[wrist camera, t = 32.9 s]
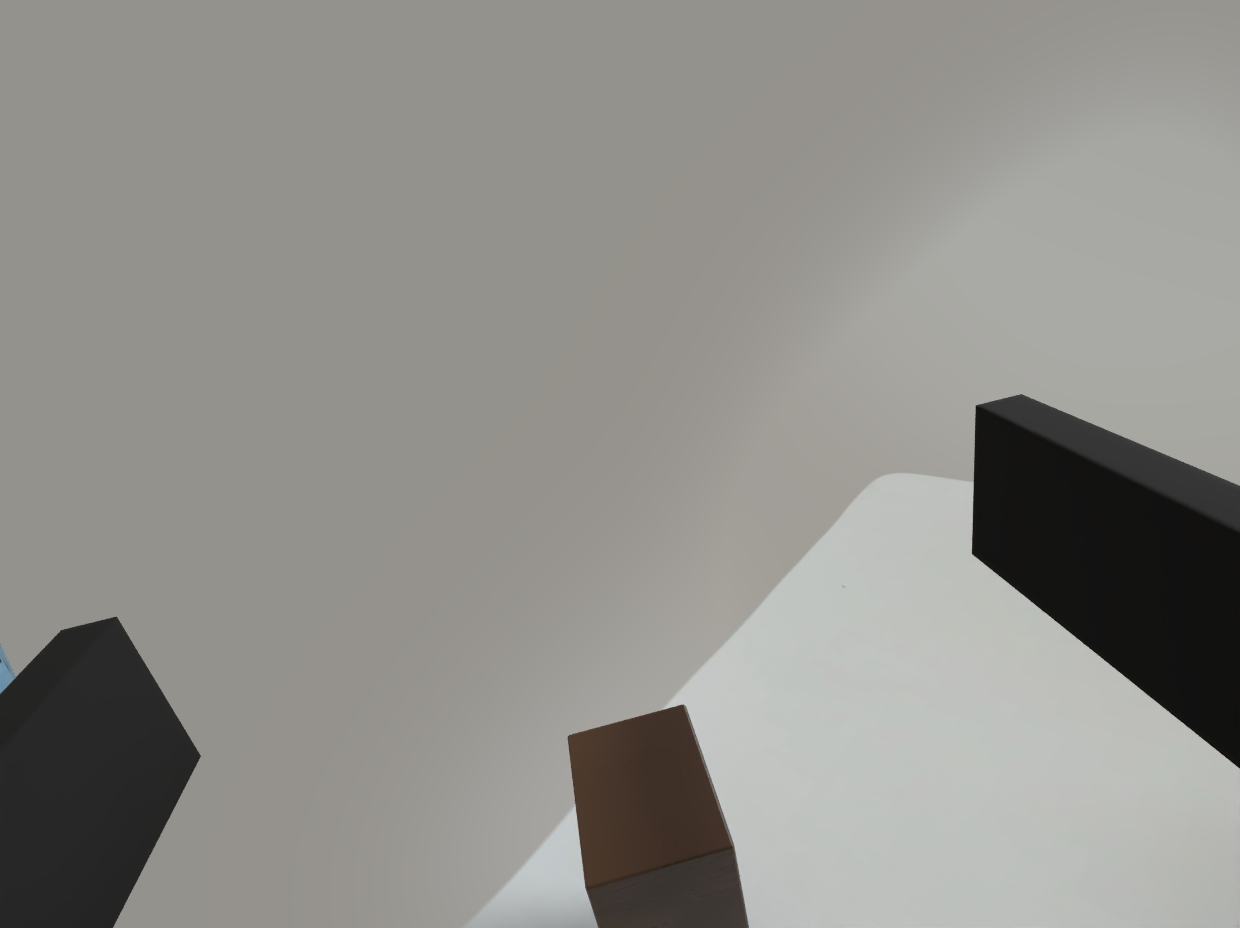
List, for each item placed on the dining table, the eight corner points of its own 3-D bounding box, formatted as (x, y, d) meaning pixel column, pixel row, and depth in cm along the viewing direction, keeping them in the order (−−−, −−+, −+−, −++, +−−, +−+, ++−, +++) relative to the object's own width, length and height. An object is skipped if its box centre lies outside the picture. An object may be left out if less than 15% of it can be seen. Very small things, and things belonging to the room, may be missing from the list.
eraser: (654, 1102, 25) (584, 888, 20) (627, 935, 30) (566, 734, 25) (774, 1065, 25) (734, 845, 20) (725, 906, 31) (684, 702, 26)
